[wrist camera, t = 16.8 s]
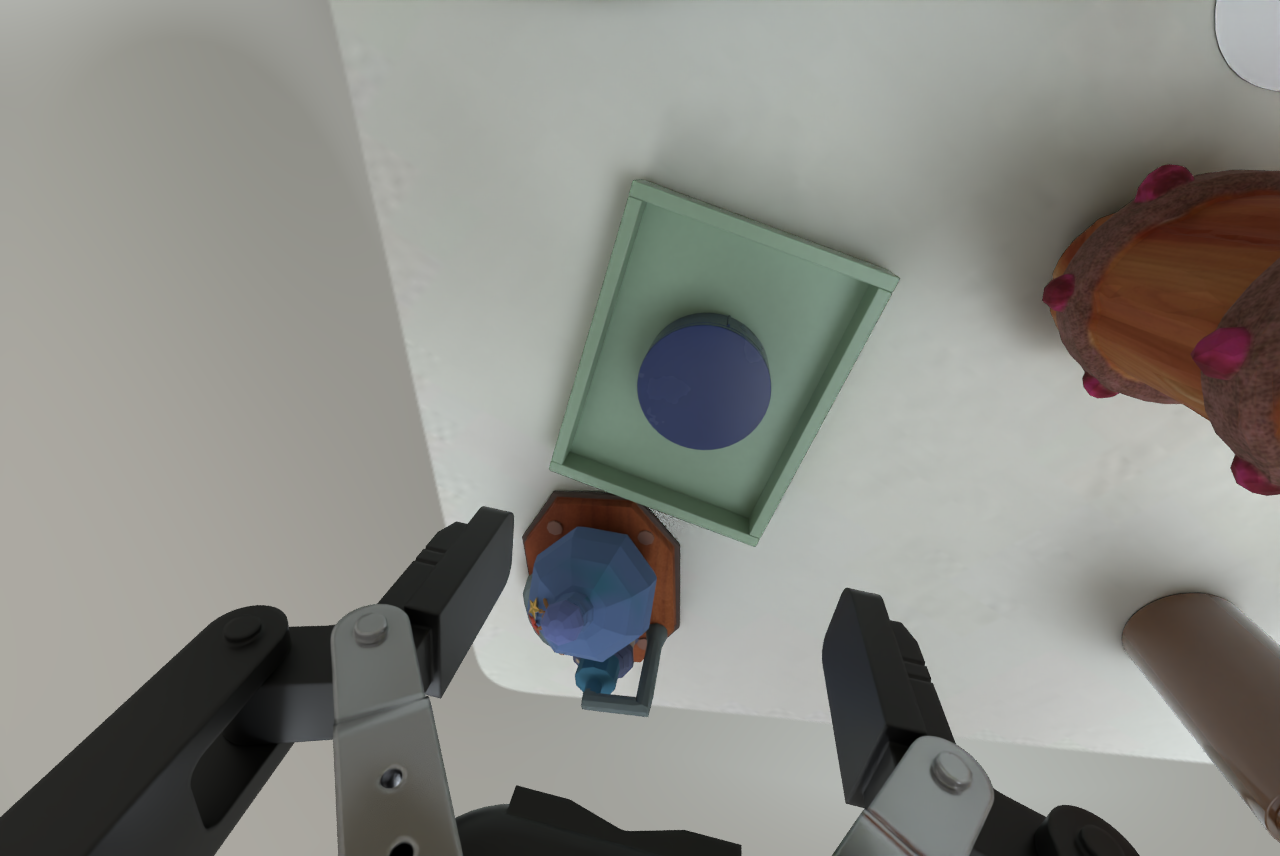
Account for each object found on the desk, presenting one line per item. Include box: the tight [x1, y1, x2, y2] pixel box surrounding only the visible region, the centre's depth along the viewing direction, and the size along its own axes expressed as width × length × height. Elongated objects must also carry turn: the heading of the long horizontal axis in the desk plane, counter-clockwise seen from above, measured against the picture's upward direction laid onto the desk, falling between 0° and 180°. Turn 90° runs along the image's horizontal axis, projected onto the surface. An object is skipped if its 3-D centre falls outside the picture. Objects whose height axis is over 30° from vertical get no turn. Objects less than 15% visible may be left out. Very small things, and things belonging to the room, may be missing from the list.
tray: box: [549, 179, 900, 547], centre depth 26 cm, size 14×11×2 cm
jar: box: [1122, 593, 1280, 842], centre depth 24 cm, size 5×5×11 cm
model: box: [522, 491, 680, 717], centre depth 29 cm, size 12×9×9 cm
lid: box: [637, 312, 771, 450], centre depth 25 cm, size 6×6×2 cm
